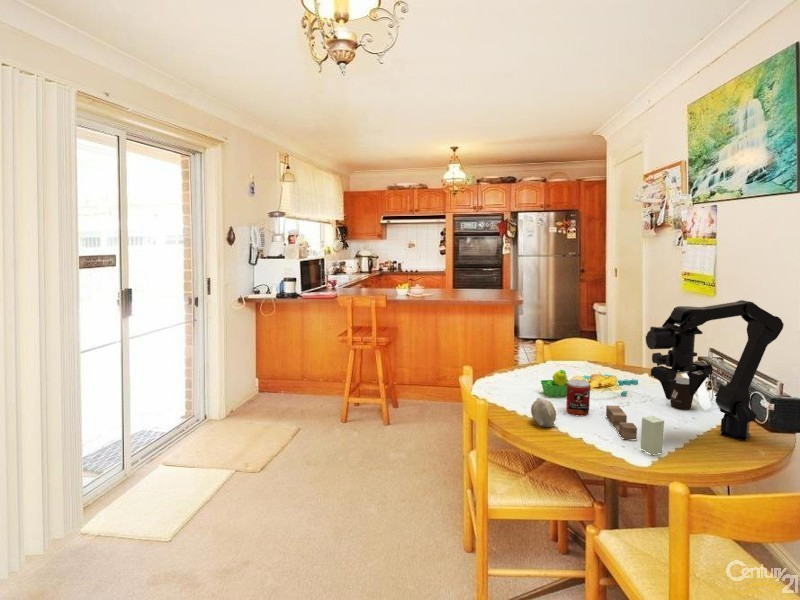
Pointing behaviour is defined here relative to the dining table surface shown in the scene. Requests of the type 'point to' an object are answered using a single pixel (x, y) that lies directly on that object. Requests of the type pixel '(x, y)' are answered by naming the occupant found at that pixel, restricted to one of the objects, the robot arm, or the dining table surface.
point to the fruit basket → (556, 385)
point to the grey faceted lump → (543, 412)
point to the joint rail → (621, 422)
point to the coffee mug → (681, 394)
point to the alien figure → (620, 383)
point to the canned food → (578, 397)
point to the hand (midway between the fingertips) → (679, 397)
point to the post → (652, 434)
